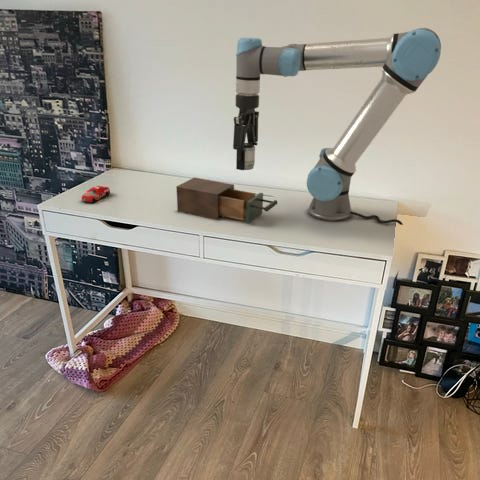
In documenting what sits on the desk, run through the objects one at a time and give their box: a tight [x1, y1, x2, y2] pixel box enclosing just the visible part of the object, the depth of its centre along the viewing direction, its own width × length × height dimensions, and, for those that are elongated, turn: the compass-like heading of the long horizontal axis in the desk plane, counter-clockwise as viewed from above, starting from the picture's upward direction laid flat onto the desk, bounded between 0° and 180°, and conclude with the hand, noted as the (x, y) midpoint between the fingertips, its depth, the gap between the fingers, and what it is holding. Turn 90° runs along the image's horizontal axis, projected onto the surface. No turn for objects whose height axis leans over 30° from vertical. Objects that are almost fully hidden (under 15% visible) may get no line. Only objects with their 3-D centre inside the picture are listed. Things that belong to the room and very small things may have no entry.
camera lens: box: [235, 142, 256, 171], centre depth 164 cm, size 6×6×8 cm
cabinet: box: [176, 177, 235, 221], centre depth 176 cm, size 17×12×9 cm
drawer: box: [219, 188, 278, 224], centre depth 170 cm, size 22×11×7 cm, turn 63°
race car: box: [80, 185, 111, 204], centre depth 185 cm, size 13×5×4 cm, turn 153°
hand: (245, 166), depth 167 cm, fingers closed on camera lens, 6 cm apart
